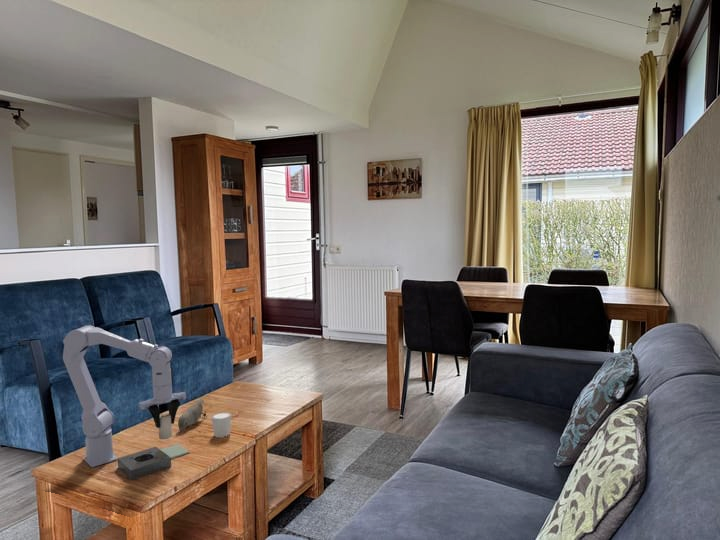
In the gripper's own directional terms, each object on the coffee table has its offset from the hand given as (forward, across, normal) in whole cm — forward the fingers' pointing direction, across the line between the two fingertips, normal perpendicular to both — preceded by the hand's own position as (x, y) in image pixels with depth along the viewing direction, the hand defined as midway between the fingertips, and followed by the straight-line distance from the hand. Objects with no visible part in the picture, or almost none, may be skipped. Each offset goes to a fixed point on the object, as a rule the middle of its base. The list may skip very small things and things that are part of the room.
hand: (164, 425), depth 165 cm
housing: (+10, -8, -3) cm, 14 cm away
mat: (+10, +3, +1) cm, 11 cm away
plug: (+4, 0, 0) cm, 4 cm away
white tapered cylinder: (+11, +22, +3) cm, 24 cm away
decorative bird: (+11, +18, +21) cm, 30 cm away
